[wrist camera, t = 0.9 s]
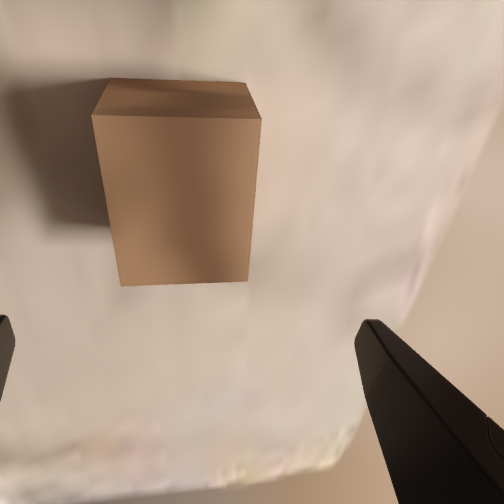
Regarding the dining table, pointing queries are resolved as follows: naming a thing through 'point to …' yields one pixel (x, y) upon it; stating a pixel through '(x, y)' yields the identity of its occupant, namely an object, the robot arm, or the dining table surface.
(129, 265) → the walnut block
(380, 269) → the dining table surface
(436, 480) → the robot arm
